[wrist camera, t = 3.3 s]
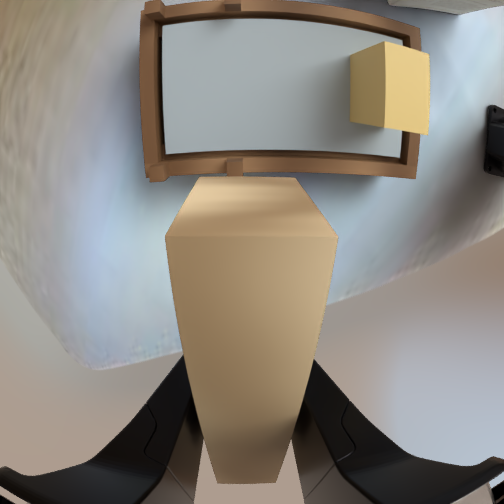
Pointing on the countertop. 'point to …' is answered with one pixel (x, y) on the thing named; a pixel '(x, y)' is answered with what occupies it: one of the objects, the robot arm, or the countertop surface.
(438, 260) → the countertop surface
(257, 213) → the tan block
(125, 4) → the countertop surface
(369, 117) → the lid
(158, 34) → the brown frame
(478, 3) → the small box
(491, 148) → the robot arm
